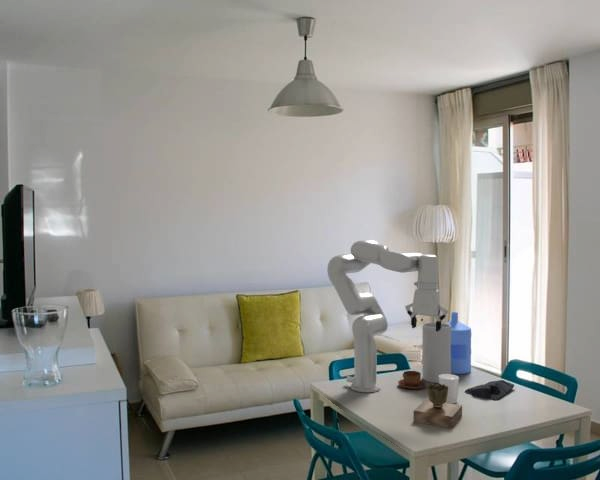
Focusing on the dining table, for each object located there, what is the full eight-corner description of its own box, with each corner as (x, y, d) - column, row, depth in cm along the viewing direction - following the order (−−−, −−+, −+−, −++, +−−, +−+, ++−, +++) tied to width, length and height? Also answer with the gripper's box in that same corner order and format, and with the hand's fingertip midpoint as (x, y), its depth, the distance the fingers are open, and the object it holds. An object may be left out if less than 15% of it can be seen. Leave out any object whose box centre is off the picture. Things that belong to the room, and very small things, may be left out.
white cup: (459, 404, 227) (459, 379, 227) (438, 403, 229) (438, 378, 228) (458, 398, 235) (458, 374, 234) (438, 397, 236) (438, 373, 236)
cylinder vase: (430, 384, 255) (430, 328, 254) (417, 377, 267) (417, 323, 266) (455, 382, 258) (456, 327, 257) (442, 375, 270) (442, 322, 269)
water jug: (446, 364, 289) (446, 309, 288) (476, 369, 279) (476, 312, 278) (431, 371, 277) (432, 313, 276) (463, 376, 267) (463, 316, 266)
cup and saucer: (392, 387, 251) (392, 373, 251) (407, 381, 260) (407, 367, 260) (417, 392, 243) (417, 378, 243) (431, 386, 252) (431, 372, 252)
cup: (427, 410, 208) (427, 388, 208) (426, 404, 216) (426, 382, 215) (449, 411, 207) (449, 389, 207) (447, 405, 214) (447, 383, 214)
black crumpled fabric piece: (520, 391, 246) (521, 380, 246) (495, 402, 231) (495, 390, 231) (487, 383, 257) (487, 373, 257) (461, 394, 242) (461, 383, 242)
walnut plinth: (413, 421, 209) (413, 410, 209) (425, 410, 221) (425, 399, 221) (452, 428, 202) (452, 416, 202) (462, 416, 214) (462, 405, 214)
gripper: (403, 285, 228) (401, 328, 229) (446, 289, 219) (444, 333, 220) (409, 283, 234) (408, 324, 235) (451, 287, 225) (450, 330, 226)
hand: (425, 329), depth 227 cm, fingers open, 9 cm apart
